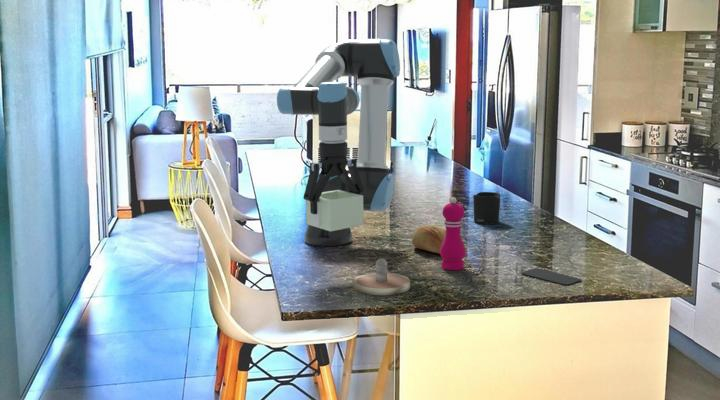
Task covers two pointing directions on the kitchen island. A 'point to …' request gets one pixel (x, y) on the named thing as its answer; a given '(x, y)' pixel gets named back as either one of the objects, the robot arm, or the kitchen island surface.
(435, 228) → the bread roll
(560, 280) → the phone
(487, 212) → the pen holder
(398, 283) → the post stand
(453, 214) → the pepper mill
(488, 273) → the kitchen island surface
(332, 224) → the square ring
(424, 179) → the kitchen island surface
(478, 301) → the kitchen island surface
